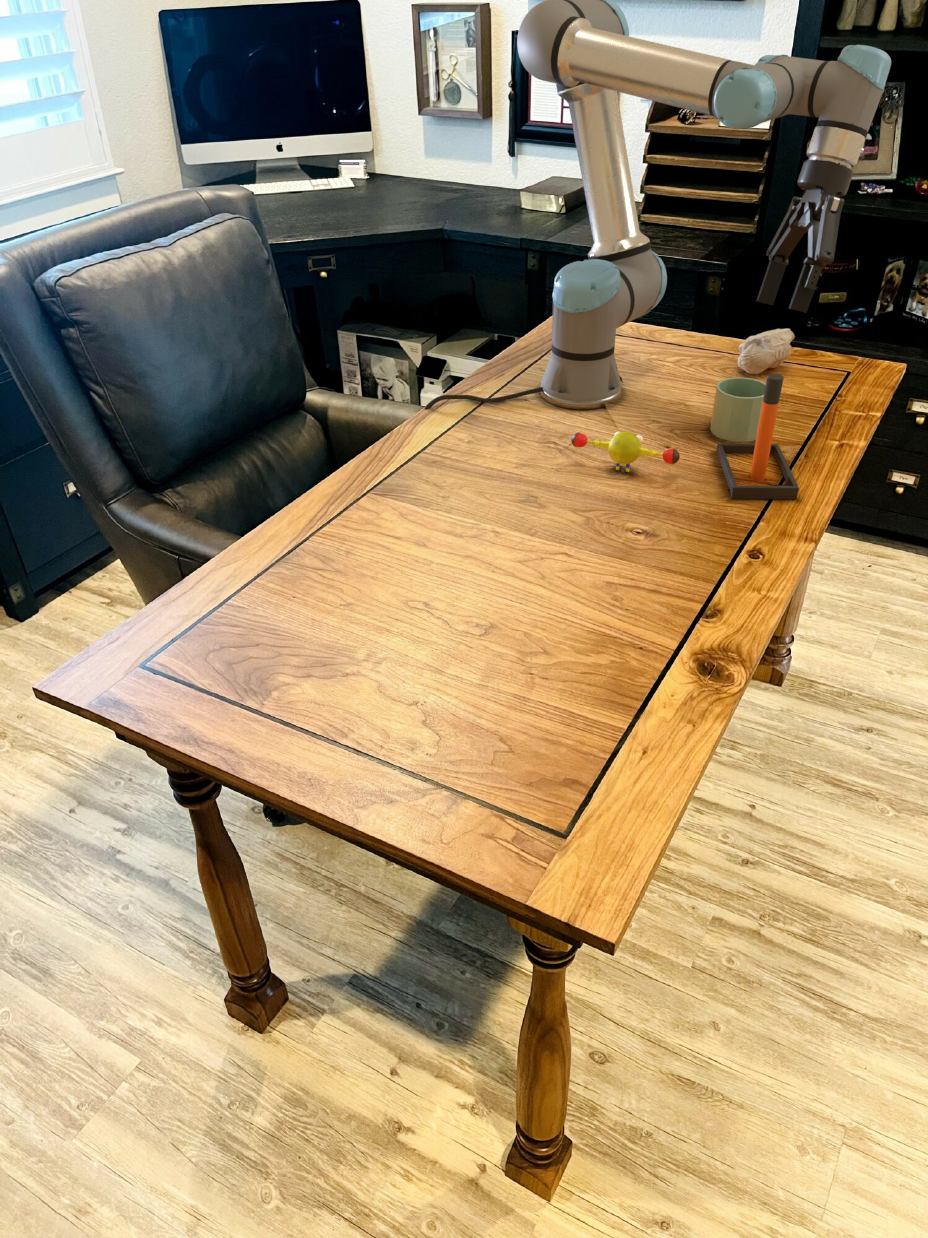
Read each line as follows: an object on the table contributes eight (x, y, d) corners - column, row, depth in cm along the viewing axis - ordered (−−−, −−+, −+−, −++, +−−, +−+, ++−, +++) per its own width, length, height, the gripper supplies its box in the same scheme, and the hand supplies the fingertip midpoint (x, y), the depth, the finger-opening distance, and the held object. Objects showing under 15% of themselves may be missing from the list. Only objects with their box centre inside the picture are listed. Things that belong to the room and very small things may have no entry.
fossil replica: (725, 374, 190) (775, 388, 186) (734, 335, 184) (785, 348, 181) (744, 350, 197) (792, 362, 194) (753, 311, 192) (803, 323, 188)
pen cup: (719, 446, 164) (727, 400, 159) (702, 424, 171) (709, 378, 166) (770, 443, 165) (779, 396, 160) (751, 420, 172) (759, 375, 167)
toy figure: (681, 473, 157) (686, 435, 153) (672, 488, 153) (677, 449, 149) (576, 454, 163) (578, 417, 159) (565, 468, 159) (567, 430, 155)
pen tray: (796, 499, 149) (799, 487, 148) (731, 498, 150) (733, 487, 148) (775, 454, 161) (778, 443, 160) (715, 454, 162) (717, 443, 161)
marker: (752, 481, 153) (770, 379, 143) (747, 474, 155) (764, 373, 145) (767, 480, 153) (786, 378, 143) (761, 473, 155) (780, 372, 145)
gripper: (892, 166, 135) (836, 320, 142) (817, 173, 158) (772, 305, 165) (844, 152, 133) (789, 307, 141) (775, 161, 156) (732, 294, 164)
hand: (780, 306), depth 153 cm, fingers open, 13 cm apart
